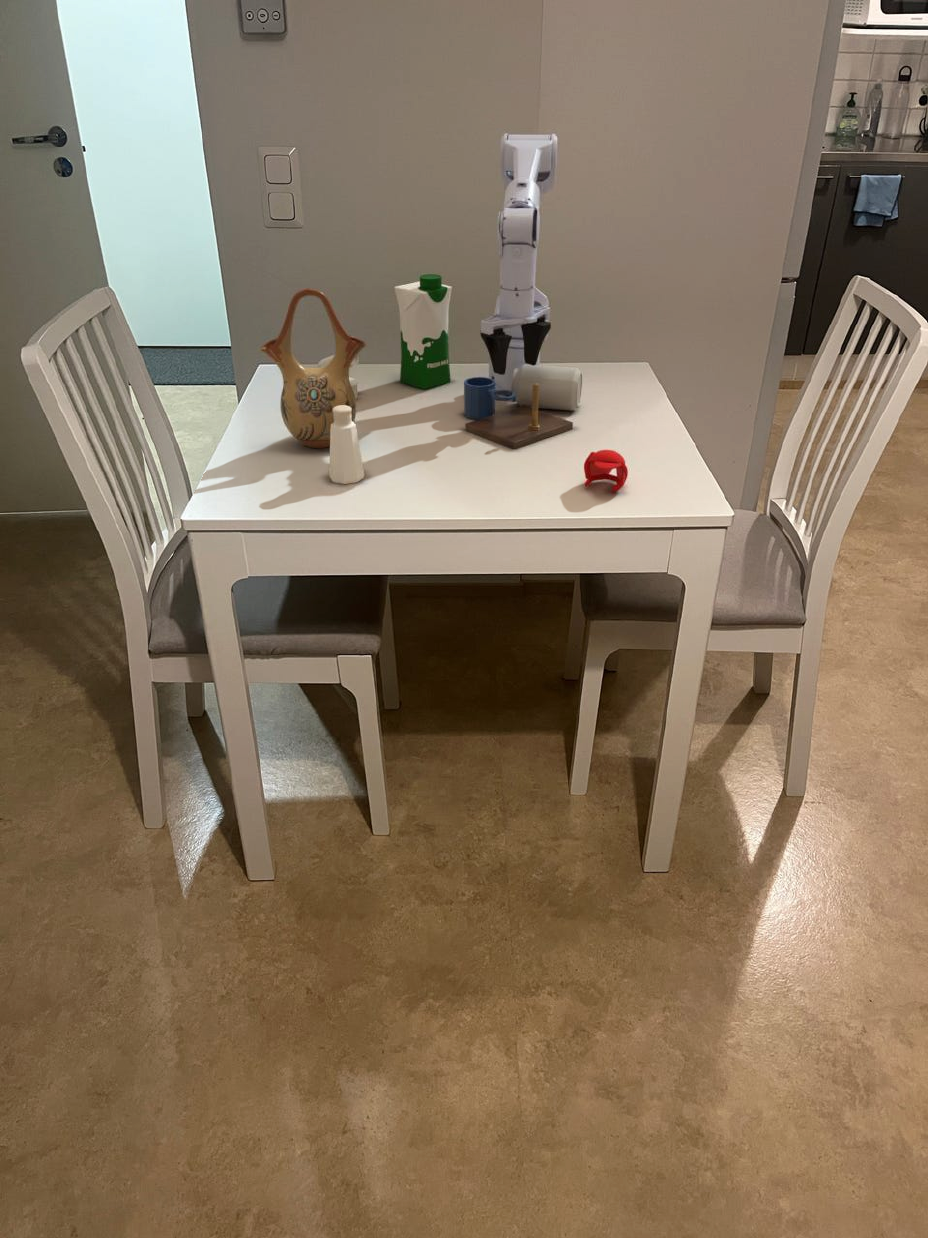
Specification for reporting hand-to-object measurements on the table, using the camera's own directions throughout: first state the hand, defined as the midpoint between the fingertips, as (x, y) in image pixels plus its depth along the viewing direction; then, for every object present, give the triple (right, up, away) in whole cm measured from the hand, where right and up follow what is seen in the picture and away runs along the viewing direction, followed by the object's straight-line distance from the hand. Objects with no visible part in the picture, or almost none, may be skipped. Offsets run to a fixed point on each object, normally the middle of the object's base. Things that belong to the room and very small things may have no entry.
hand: (515, 368), depth 164 cm
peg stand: (+1, -11, 0) cm, 11 cm away
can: (+12, -2, +6) cm, 14 cm away
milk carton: (-16, +3, +22) cm, 28 cm away
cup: (-4, -8, +4) cm, 10 cm away
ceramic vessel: (-32, -14, -6) cm, 36 cm away
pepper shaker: (-27, -21, -18) cm, 39 cm away
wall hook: (-32, -2, +15) cm, 36 cm away
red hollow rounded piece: (+12, -24, -21) cm, 34 cm away
